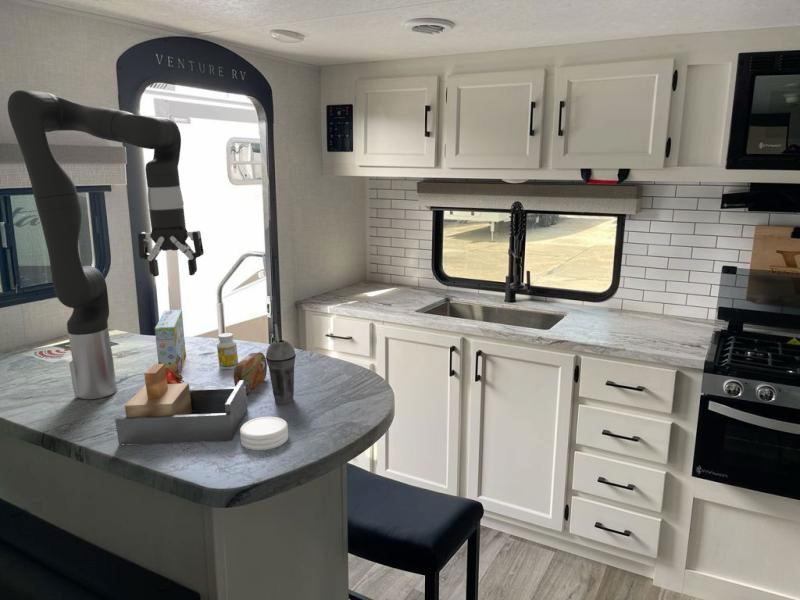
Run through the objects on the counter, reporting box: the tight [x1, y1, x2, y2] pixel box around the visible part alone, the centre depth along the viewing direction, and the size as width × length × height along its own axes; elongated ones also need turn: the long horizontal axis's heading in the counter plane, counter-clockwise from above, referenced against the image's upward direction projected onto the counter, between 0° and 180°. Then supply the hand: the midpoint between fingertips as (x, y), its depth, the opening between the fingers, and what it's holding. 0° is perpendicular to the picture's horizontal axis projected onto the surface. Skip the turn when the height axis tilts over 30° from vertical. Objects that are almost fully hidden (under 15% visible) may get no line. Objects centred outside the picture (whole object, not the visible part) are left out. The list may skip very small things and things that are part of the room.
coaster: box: [239, 416, 289, 451], centre depth 132 cm, size 10×10×4 cm
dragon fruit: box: [165, 367, 185, 384], centre depth 156 cm, size 8×8×12 cm
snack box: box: [154, 309, 187, 375], centre depth 177 cm, size 21×6×15 cm, turn 14°
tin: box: [233, 351, 268, 395], centre depth 161 cm, size 15×3×8 cm, turn 168°
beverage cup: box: [265, 323, 297, 405], centre depth 150 cm, size 7×7×20 cm
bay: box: [114, 380, 248, 446], centre depth 138 cm, size 24×16×8 cm, turn 92°
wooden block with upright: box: [124, 363, 192, 417], centre depth 137 cm, size 10×12×13 cm
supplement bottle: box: [216, 332, 239, 370], centre depth 177 cm, size 5×5×10 cm
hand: (174, 275), depth 146 cm, fingers open, 8 cm apart
